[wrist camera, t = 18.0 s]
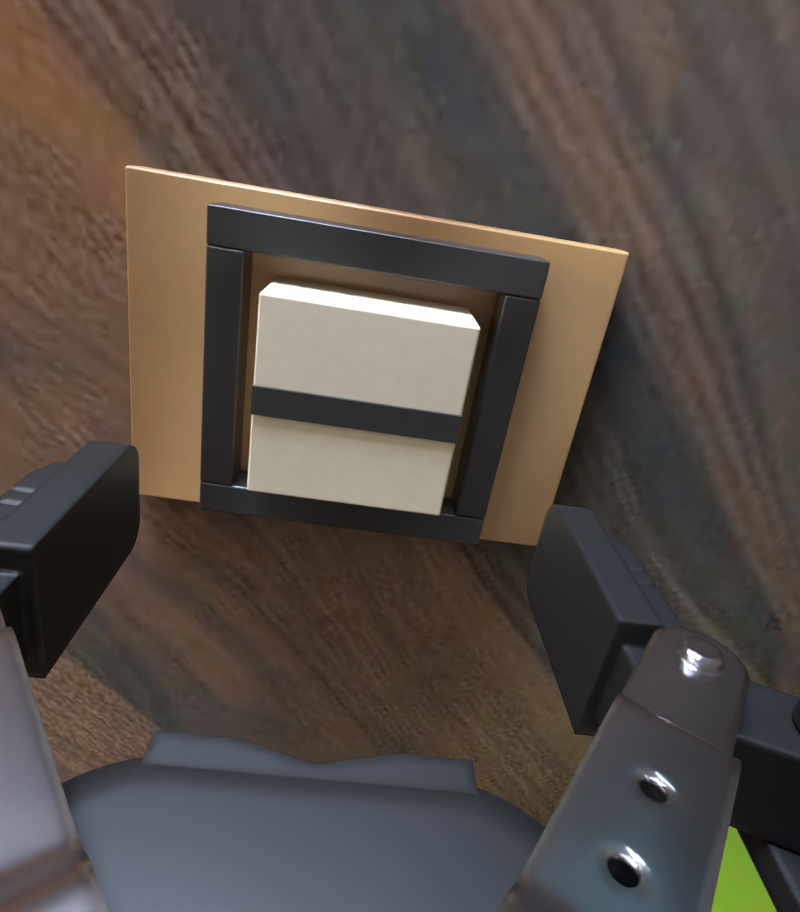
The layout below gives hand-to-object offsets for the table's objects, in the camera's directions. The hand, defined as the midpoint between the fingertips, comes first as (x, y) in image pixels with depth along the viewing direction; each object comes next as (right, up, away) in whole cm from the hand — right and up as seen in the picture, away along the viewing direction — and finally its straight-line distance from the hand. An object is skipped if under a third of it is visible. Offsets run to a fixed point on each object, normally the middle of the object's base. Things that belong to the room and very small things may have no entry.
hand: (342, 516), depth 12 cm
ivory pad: (0, +3, +7) cm, 8 cm away
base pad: (0, +4, +8) cm, 9 cm away
